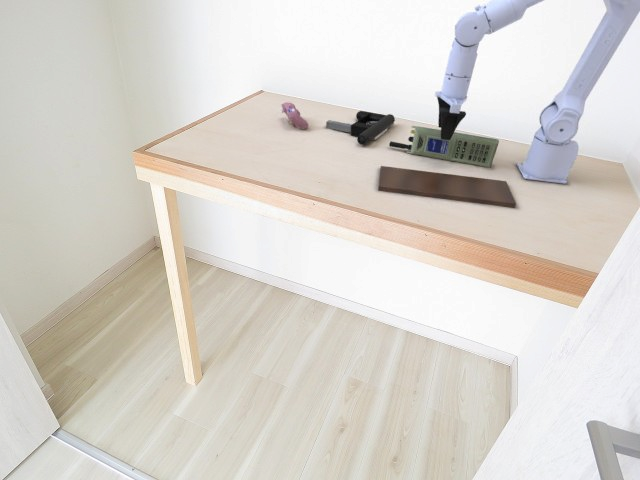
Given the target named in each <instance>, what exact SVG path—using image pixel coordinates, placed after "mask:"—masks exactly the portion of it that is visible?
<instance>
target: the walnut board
mask: <svg viewBox="0 0 640 480" xmlns="http://www.w3.org/2000/svg"><path fill="white" fill-rule="evenodd" d="M377 190H378V191H381V192H388V193H389V192H390V193H397V194H405V195H413V196H420V197H429V198H437V199H445V200H452V201H458V202H459V201H460V202H466V203H473V204H475V203H476V204H483V205H490V206H500V207H506V208H513V209H515V208H516V205H517V202H516V200H515V197H514V196H513V193H512V191H511V188H510V186H509V184H508V182H507V180H500V179H493V178H483V177H476V176H469V175H468V176H467V175H460V174H452V173H451V174H450V173H444V172H443V173H441V172H434V171H427V170H418V169H410V168H403V167H402V168H401V167H393V166H386V165H380V168H379V179H378V189H377Z"/></svg>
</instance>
